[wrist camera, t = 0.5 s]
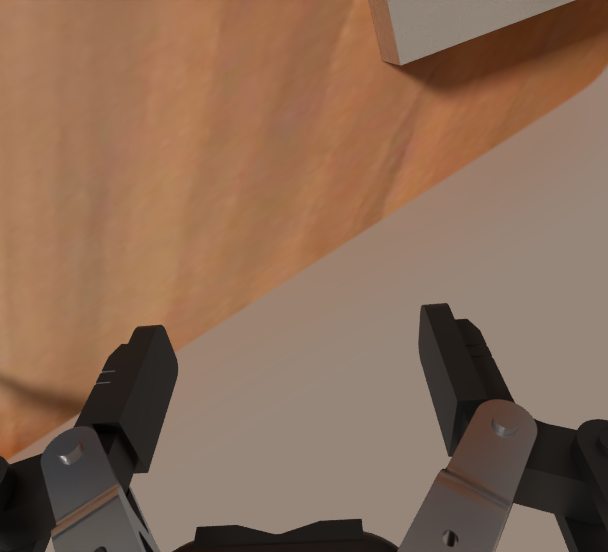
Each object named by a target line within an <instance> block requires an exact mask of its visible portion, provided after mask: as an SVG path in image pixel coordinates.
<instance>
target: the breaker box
mask: <svg viewBox="0 0 608 552" xmlns="http://www.w3.org/2000/svg"><path fill="white" fill-rule="evenodd" d="M368 1H369V5H370V10H371V14H372V19H373V23H374V27H375V32H376V36H377V41H378V45H379V49H380V54H381V58H382V61H385V62H389V63H393V64H397V65H403V64H406V63H409V62H412V61H414V60H417V59H420V58H422V57H425V56H428V55H430V54H433V53H436V52H438V51H441V50H444V49H446V48H449V47H452V46H454V45H457V44H460V43H462V42H465V41H468V40H470V39H473V38H476V37H478V36H481V35H484V34H486V33H489V32H492V31H494V30H497V29H500V28H502V27H505V26H508V25H510V24H513V23H516V22H518V21H521V20H524V19H526V18H529V17H532V16H534V15H537V14H540V13H542V12H545V11H548V10H550V9H553V8H556V7H558V6H561V5H564V4H566V3H569V2H572V1H574V0H368Z"/></svg>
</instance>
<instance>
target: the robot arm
mask: <svg viewBox="0 0 608 552" xmlns="http://www.w3.org/2000/svg"><path fill="white" fill-rule="evenodd" d="M418 343H419V354H420V360H421V364H422V367H423V370H424V374H425V377H426V381H427V384H428V388H429V391H430V395H431V398H432V401H433V405H434V408H435V411H436V415H437V418H438V422H439V425H440V429H441V432H442V436H443V439H444V442H445V446H446V449H447V453H448V456H449V457H452V458H451V460H450V462H449V464H448V466H447V467H446V469H442V470H441V471H440V472H439V473H438V475H437V477H436V479H435V480H434V482H433V484H432V486H431V488H430V490H429V492H428V494H427V496H426V497H425V500H424V501H423V503H422V505H421V507H420V509H419V511H418V513H417V515H416V517H415V518H414V521H413V522H412V524H411V526H410V528H409V530H408V532H407V534H406V536H405V538H404V540H403V541H402V543H401V545H400V547H397V546H396V545H394V544H393V543H391V542H390V541H388V540H386V539H384V538H382V537H380V536H377V535H375V534H372V533H368V532H364V531H363V529H362V519H348V520H328V521H318V522H315V523H313V524H310V525H306V526H303V527H300V528H297V529H295V530H291V531H288V532H285V533H283V534H271V533H267V532H263V531H259V530H255V529H250V528H247V527H243V526H239V525H227V526H206V527H197V529H196V534H195V540H194V541H192V542H189V543H187V544H185V545H183V546H181V547H179V548H178V549H176V550H174V551H173V552H495V551H496V548H497V545H498V542H499V540H500V537H501V535H502V532H503V529H504V527H505V524H506V521H507V519H508V516H509V513H510V511H511V508H512V505H513V503H516V504H519V505H523V506H527V507H531V508H535V509H538V510H542V511H546V512H550V513H553V514H555V517H556V520H557V522H558V525H559V527H560V530H561V532H562V535H563V537H564V540H565V543H566V545H567V548H568V550H569V552H608V421H607V420H600V419H596V420H590V421H586V422H584V423H583V424H582V425H580V427H579V428H578V430H574V429H569V428H564V427H560V426H555V425H550V424H546V423H543V422H540V421H537V420H536V419H534V418H533V417H532V416H531V415H530V414H529V412H528V411H526V410H525V409H524V408H523V407H521V406H519V405H517V404H516V403H515V402H514V400H513V398H512V396H511V394H510V392H509V390H508V388H507V386H506V384H505V382H504V380H503V378H502V375H501V373H500V371H499V369H498V367H497V365H496V363H495V361H494V359H493V358H492V355H491V352H490V350H489V348H488V347H487V346H486V342H485V340H484V338H483V336H482V334H481V332H480V330H479V329H478V328H477V327H476V326H475V325H473V324H472V323H471V322H470V321H469V320H468V319H457V320H455V319H454V317H453V314H452V312H451V309H450V307H449V305H448V304H447V303H442V304H429V305H422V306H421V311H420V326H419V342H418ZM177 375H178V363H177V358H176V356H175V353H174V350H173V348H172V345H171V343H170V340H169V338H168V335H167V333H166V330H165V328H164V326H162V325H152V326H139V327H137V328H136V329H135V330H134V332H133V334H132V336H131V338H130V341H129V343H128V344H121V345H120V346H119V347H118V348H117V349H116V350H115V351H114V352H113V353H112V354H111V355H110V356H109V357H108V359H107V361H106V363H105V365H104V367H103V369H102V373H101V374H100V375H99V377H98V379H97V381H96V385H94V387H93V389H92V391H91V393H90V396H89V398H88V400H87V402H86V404H85V406H84V408H83V410H82V412H81V414H80V416H79V418H78V420H77V422H76V424H75V426H74V427H73V428H71V429H69V430H66V431H64V432H63V433H61V434H59V435H58V436H57V437H55V438H54V439H53V440H52V441H51V442H50V443H49V444H48V446H47V447H46V449H45V450H44V452H43V453H42V454H40V455H36V456H34V457H30V458H28V459H25V460H22V461H19V462H16V463H13V464H9V463H8V462H7V461H6V460H5V459H4V458H3V457H1V456H0V552H45V550H46V548H47V545H48V543H49V540H50V537H52V542H53V546H54V550H55V552H160V550H159V548H158V546H157V544H156V542H155V540H154V538H153V536H152V534H151V531H150V529H149V527H148V525H147V522H146V520H145V518H144V516H143V513H142V511H141V510H140V507H139V504H138V502H137V500H136V498H135V495H134V493H133V491H132V489H131V487H130V482H131V479H132V476H133V474H134V473H148V471H149V467H150V464H151V461H152V457H153V454H154V451H155V448H156V445H157V441H158V438H159V435H160V432H161V428H162V425H163V422H164V419H165V415H166V412H167V409H168V405H169V402H170V399H171V396H172V392H173V389H174V386H175V383H176V380H177Z"/></svg>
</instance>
